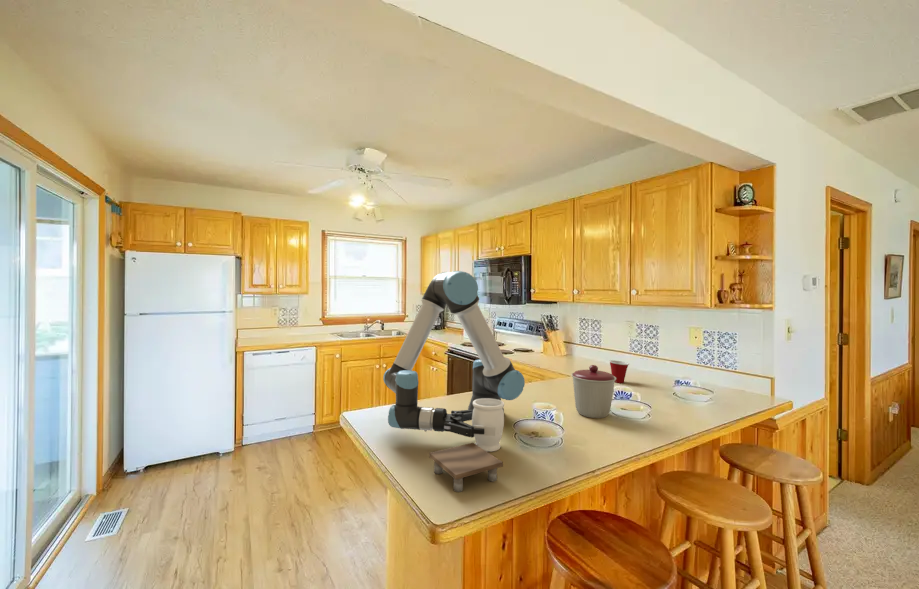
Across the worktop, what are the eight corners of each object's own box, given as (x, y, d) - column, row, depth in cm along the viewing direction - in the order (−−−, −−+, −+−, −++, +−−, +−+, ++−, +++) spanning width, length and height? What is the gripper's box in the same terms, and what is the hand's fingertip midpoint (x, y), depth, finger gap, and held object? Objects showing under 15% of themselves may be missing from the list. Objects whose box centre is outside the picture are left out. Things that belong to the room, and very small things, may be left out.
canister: (565, 407, 173) (566, 360, 172) (606, 408, 172) (607, 361, 172) (576, 421, 155) (578, 369, 154) (622, 422, 154) (623, 370, 154)
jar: (503, 441, 132) (504, 398, 132) (503, 454, 122) (504, 407, 122) (472, 439, 133) (473, 397, 133) (470, 452, 123) (471, 406, 123)
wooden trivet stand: (428, 470, 110) (429, 452, 110) (472, 459, 118) (472, 442, 118) (455, 495, 98) (455, 474, 97) (502, 480, 105) (502, 462, 105)
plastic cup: (632, 384, 217) (632, 363, 217) (612, 384, 217) (613, 363, 217) (624, 380, 228) (624, 360, 228) (605, 379, 228) (606, 359, 228)
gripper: (441, 418, 143) (498, 422, 139) (424, 444, 118) (493, 450, 115) (441, 398, 143) (498, 401, 139) (425, 420, 118) (494, 425, 115)
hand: (496, 423), depth 127 cm, fingers open, 13 cm apart
